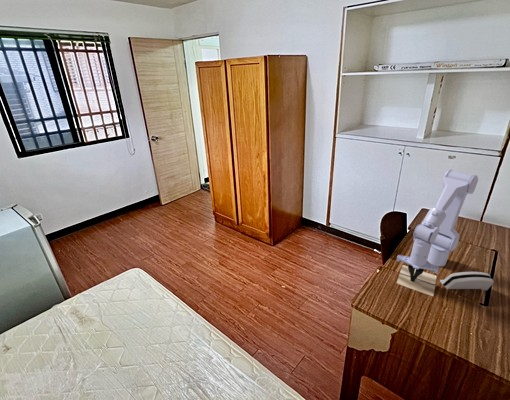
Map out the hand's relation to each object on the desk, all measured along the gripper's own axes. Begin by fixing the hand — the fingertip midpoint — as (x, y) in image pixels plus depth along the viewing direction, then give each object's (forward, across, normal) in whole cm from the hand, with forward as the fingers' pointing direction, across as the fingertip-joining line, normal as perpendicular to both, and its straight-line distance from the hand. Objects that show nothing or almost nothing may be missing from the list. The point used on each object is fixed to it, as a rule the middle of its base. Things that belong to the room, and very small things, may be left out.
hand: (412, 280), depth 112 cm
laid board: (+1, +1, +5) cm, 5 cm away
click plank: (+1, +1, -2) cm, 3 cm away
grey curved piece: (+2, +18, +8) cm, 19 cm away
